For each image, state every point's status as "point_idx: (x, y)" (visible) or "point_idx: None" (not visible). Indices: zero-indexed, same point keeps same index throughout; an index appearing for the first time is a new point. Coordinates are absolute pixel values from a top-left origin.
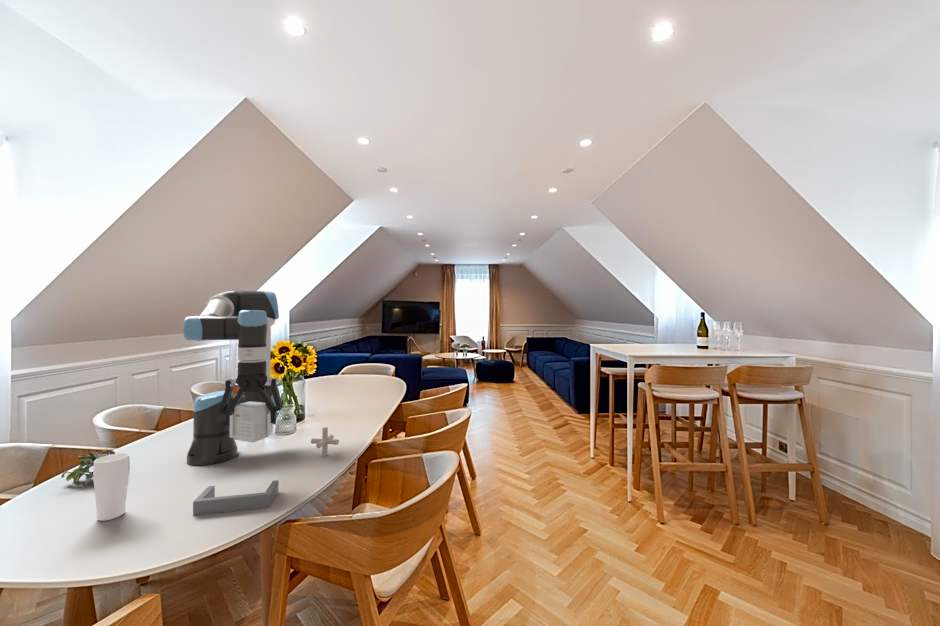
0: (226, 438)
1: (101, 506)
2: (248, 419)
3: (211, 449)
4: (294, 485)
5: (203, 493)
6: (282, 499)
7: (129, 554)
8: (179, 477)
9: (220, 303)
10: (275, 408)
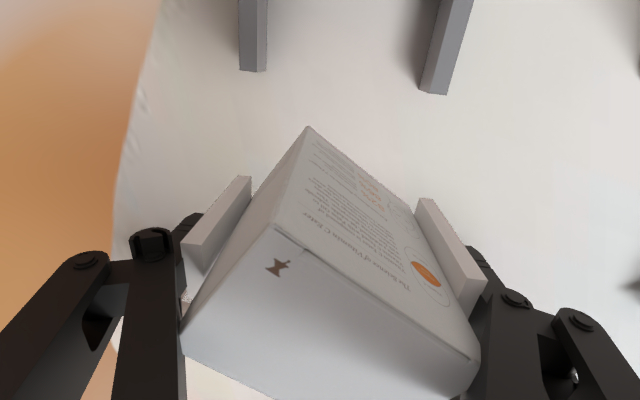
0: None
1: None
2: (337, 197)
3: None
4: (216, 104)
5: (457, 33)
6: (225, 6)
7: None
8: (512, 254)
9: None
10: (123, 278)
